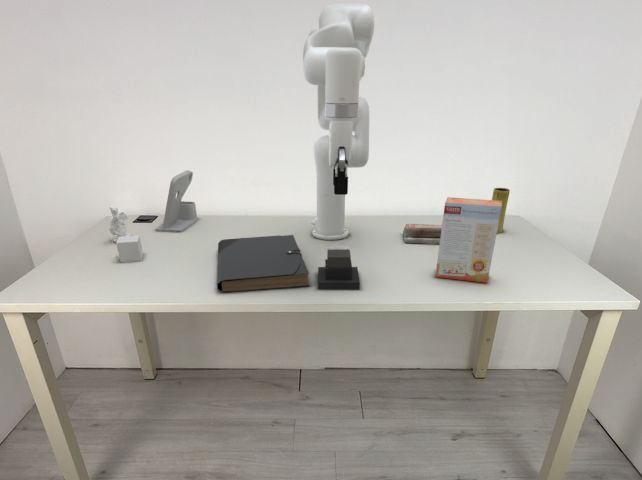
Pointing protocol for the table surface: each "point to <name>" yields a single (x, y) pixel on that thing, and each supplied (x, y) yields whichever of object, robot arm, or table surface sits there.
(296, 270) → the dark grey book
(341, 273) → the charcoal pad
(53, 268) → the table surface
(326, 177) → the robot arm
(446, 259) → the cracker box
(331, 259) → the grey pad
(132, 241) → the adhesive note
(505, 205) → the vase
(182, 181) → the phone holder
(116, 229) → the white figurine
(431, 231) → the packaged product
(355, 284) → the base pad
